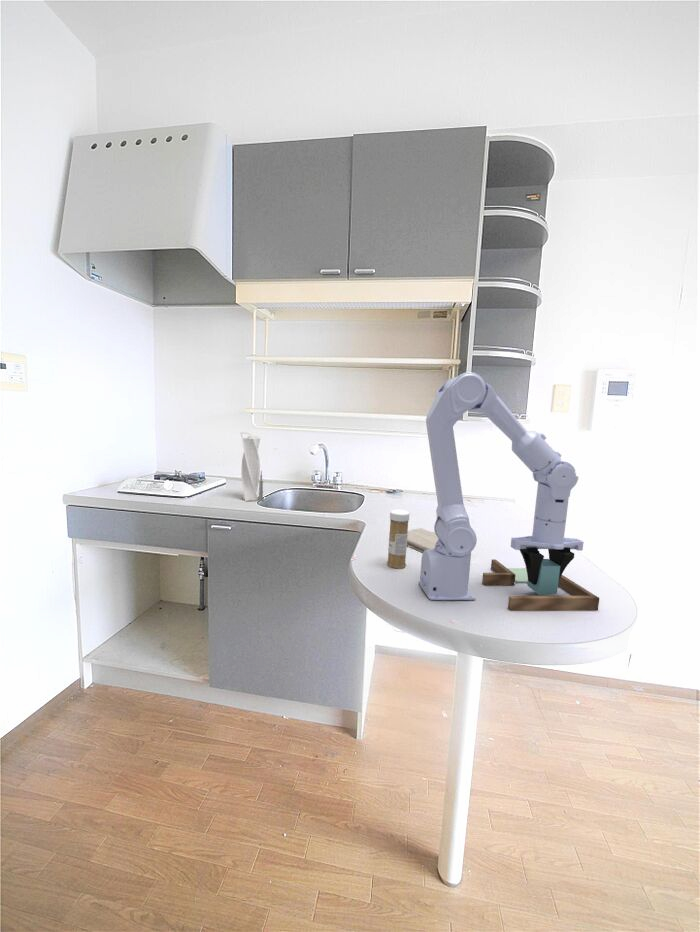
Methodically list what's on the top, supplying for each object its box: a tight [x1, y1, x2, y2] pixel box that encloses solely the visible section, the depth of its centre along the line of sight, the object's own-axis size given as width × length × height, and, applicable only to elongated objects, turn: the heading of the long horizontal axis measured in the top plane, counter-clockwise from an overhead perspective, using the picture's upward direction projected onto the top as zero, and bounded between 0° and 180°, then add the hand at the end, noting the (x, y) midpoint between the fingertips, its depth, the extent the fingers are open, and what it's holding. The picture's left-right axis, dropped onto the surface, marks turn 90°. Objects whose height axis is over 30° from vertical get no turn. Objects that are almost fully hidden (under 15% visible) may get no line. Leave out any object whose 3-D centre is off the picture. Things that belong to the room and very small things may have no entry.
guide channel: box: [481, 559, 600, 612], centre depth 82 cm, size 18×20×2 cm
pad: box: [506, 567, 528, 584], centre depth 88 cm, size 8×8×1 cm
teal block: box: [526, 558, 560, 596], centre depth 78 cm, size 4×4×6 cm
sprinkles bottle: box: [386, 509, 410, 569], centre depth 90 cm, size 5×5×13 cm
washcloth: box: [407, 527, 438, 554], centre depth 108 cm, size 12×18×3 cm, turn 35°
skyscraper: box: [240, 431, 265, 503], centre depth 154 cm, size 8×8×28 cm
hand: (542, 582), depth 78 cm, fingers closed on teal block, 4 cm apart
